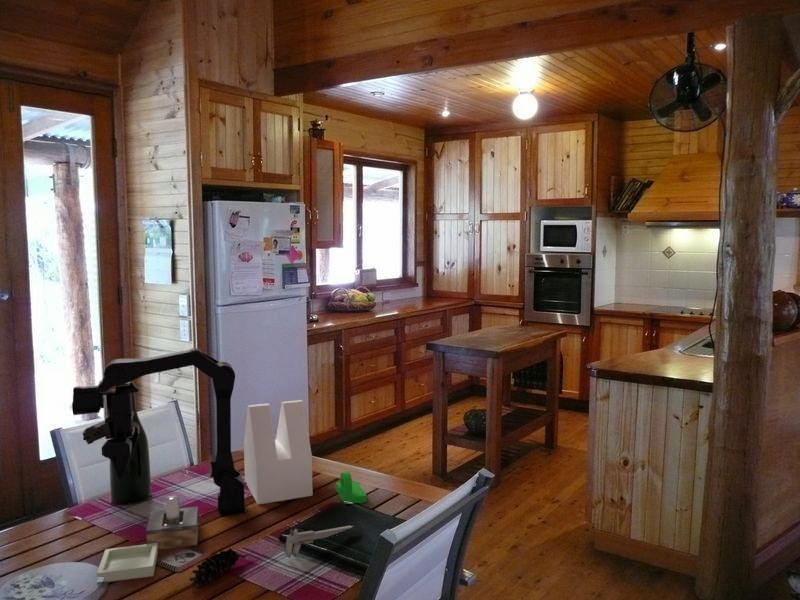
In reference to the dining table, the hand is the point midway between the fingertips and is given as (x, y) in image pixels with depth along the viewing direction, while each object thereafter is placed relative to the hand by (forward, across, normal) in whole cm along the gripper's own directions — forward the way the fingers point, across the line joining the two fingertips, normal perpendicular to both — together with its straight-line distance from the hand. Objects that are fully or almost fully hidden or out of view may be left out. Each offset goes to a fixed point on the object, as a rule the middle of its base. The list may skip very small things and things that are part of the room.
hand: (123, 471), depth 162 cm
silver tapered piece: (+14, +11, +12) cm, 22 cm away
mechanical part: (+15, -4, +58) cm, 60 cm away
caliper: (+16, +25, +47) cm, 55 cm away
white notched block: (+15, -15, +39) cm, 44 cm away
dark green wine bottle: (+14, -18, -1) cm, 23 cm away
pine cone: (+17, +28, +28) cm, 44 cm away
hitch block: (+14, +11, +12) cm, 22 cm away
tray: (+14, +24, +4) cm, 28 cm away
